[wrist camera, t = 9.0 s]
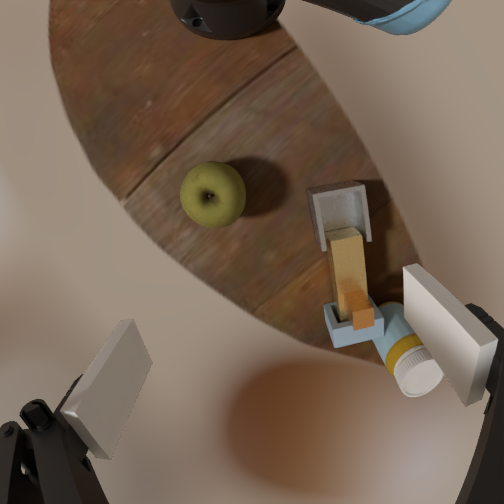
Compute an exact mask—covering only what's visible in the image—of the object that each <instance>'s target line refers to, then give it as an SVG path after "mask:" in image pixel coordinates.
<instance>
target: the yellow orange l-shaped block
mask: <svg viewBox="0 0 504 504" xmlns="http://www.w3.org/2000/svg"><path fill="white" fill-rule="evenodd" d="M324 234H325V240H326V246H327V253H328V260H329V267H330V274H331V281H332V288H333V296H334V304H335V312H336V318H337V321H338V323H342V322H347V321H350V323H351V325H352V327H353V329H354V331H355V330H359V329H364V328H368V327H372V326H375V323H374V307H373V305H372V304H371V302H370V301H369V299H368V293H367V280H366V269H365V258H364V249H363V240H362V235H361V234H360V233H359V232H358V231H357V230H356V229H355V228H354V227H349V228H344V229H339V230H334V231H330V232H325V233H324Z"/></svg>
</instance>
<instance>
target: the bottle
mask: <svg viewBox="0 0 504 504" xmlns="http://www.w3.org/2000/svg"><path fill="white" fill-rule="evenodd" d="M377 308H378V309H379V311H380V313H381V314H382V316H383V317H384V336H383V337H379V338H375V339H372V340H373V342H374V344H375V346H376V348H377V350H378V352H379V354H380V356H381V358H382V360H383V362H384V364H385V366H386V368H387V369H388V371H389V373H390V374H391V375H393V376H394V377H395V378H396V380H397V383H398V385H399V387H400V389H401V391H402V392H403V393H404V394H405V395H406V396H409V397H417V396H421V395H424V394H426V393H428V392H429V391H431V390H432V389H433V388H434V387H436V386H437V385H438V383H439V382H440V381H441V379H442V377H443V375H444V373H443V372H442V370H441V369H440V367H439V366H438V364H437V363H436V362H435V360H434V359H433V357H432V356H431V354H430V353H429V351H428V350H427V348H426V347H425V346H424V344H423V343H422V341H421V340H420V339H419V337H418V336H417V334H416V333H415V332H414V330H413V329H412V327H411V326H410V325H409V323H408V322H407V321H406V319H405V318H404V305H402V304H401V303H399V302H395V301H391V302H386V303H383V304H381V305H379V306H378V307H377Z"/></svg>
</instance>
